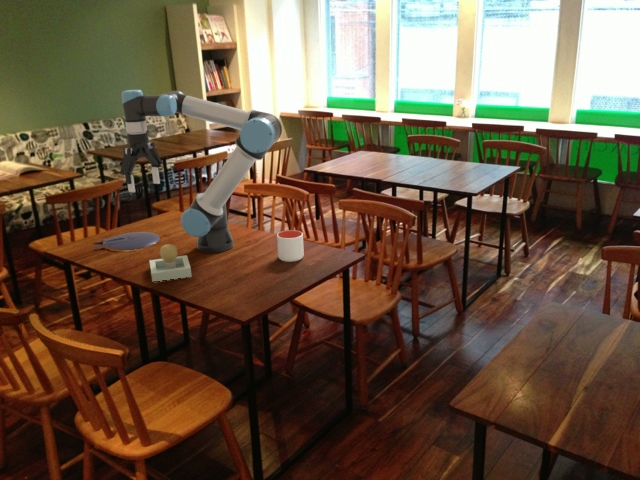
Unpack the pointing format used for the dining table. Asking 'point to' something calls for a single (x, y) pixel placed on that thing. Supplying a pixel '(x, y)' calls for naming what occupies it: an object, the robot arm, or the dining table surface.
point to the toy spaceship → (130, 241)
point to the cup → (290, 245)
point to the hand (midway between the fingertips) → (144, 187)
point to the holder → (162, 274)
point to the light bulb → (169, 255)
